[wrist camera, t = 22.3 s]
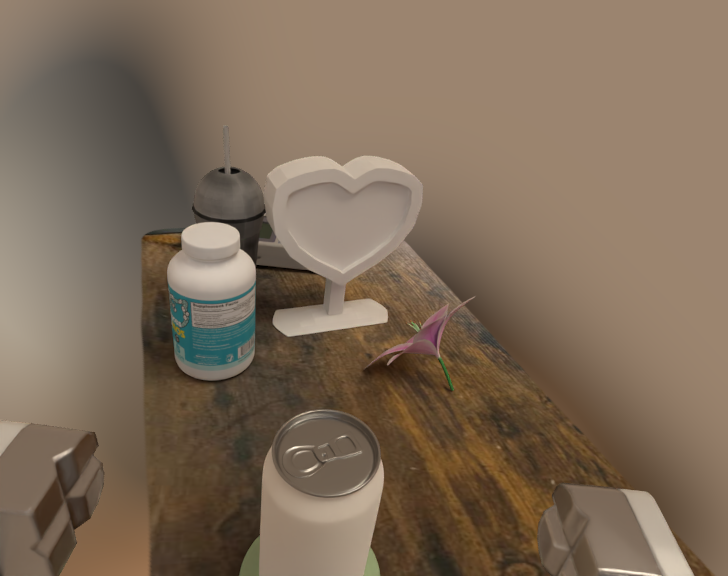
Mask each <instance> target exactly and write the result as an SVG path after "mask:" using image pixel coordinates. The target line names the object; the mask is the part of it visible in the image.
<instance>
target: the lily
mask: <svg viewBox="0 0 728 576" xmlns="http://www.w3.org/2000/svg"><path fill="white" fill-rule="evenodd" d="M474 297H476V296H474ZM474 297H473V298H474ZM473 298H470V299H469V300H467V301H465V302H464V303H462V304H461V305H459V306H457V307H456V308H455V309H453V310H452V311H451V312H450V313H449V314H448V315H447V311H448V306H449V304H450V303H451V302H450V303H449V304H447V305H446V306H444V307H443V308H441V309H440V310H438V311H437V312H436V313H434V314H433V315H432V316H431V317H429V318H428V319H427V321H426V322H425V323H424V324H423V326H421V328H420V329H421V330H420V329H419V328H418V326H417V325H415V324H416V323H415V324H414V323H413V322H412V321H410V322H411V323H412V324H413V325H414V326H415V327H416V328H417V329H418V330H419V331H418V330H417V329H416V328H415V327H414V326H413V325H412V327H413V328H414V329H415V330H416V331H417V332H418V333H417V334H416V335H414V336H413V337H412V338H410V339H409V340H408V341H407V342H406V343H405V344H400V345H397V346H395V347H392V348H390V349H389V350H387V351H385V352H384V353H383V354H381V355H380V356H379V357H377V358H376V359H375V360H374V361H373V362H371V363H370V364H369V365H368V366H370V365H371V364H372V363H374V362H375V361H377V360H378V359H379V358H381V357H383V356H385V355H387V354H389V353H392V352H396V351H402V350H404V351H403V352H402V353H400V354H397V355H394V356H393V357H392V358H391V359H390V360H389V362H388V363H387V366H388V365H389V364H390V363H391V362H392V361H394V360H395V359H396V358H397V357H398V356H400V355H401V354H403V353H415V354H430V355H435V356H436V357H437V358H438V360H439V362H440V363H441V366H442V368H443V370H444V372H445V375H446V378H447V380H448V383H449V386H450V389H451V391H453V390H454V388H453V386H452V383H451V380H450V377H449V374H448V372H447V369H446V367H445V365H444V363H443V361H442V359H441V357H440V354H439V345H440V340H441V336H442V333H443V330H444V327H445V325H446V323H447V321H448V320H449V319H450V317H451V316H452V315H453V314H454V313H455V312H456V311H457V310H458V309H460V308H461V307H462V306H463V305H465V304H466V303H467V302H469V301H470V300H472V299H473ZM414 322H415V321H414ZM406 324H408V323H406ZM408 325H410V324H408ZM420 325H421V321H420ZM410 326H411V325H410ZM368 366H367V367H368ZM367 367H366V368H367ZM366 368H365V369H366Z"/></svg>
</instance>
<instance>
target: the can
mask: <svg viewBox="0 0 728 576" xmlns="http://www.w3.org/2000/svg"><path fill="white" fill-rule="evenodd" d="M383 482H384V469H383V464H382V461H381V450H380V445H379V442H378V440H377V438H376V436H375V434H374V433H373V431H372V430H371V429H370V428H369V427H368V426H367V425H366V424H365V423H364V422H362V421H361V420H360V419H358V418H356V417H354V416H352V415H350V414H348V413H345V412H341V411H337V410H330V409H318V410H311V411H307V412H303V413H301V414H298V415H296V416H294V417H293V418H291V419H289V420H288V421H287V422H286V423H285V424H283V425H282V427H281V428H280V429H279V430H278V432H277V434H276V435H275V438H274V440H273V444H272V447H271V448H270V450H269V452H268V454H267V456H266V459H265V462H264V467H263V477H262V497H261V524H260V554H259V576H363V575H364V571H365V566H366V562H367V558H368V553H369V549H370V544H371V540H372V536H373V531H374V527H375V522H376V518H377V513H378V508H379V504H380V499H381V494H382V489H383Z"/></svg>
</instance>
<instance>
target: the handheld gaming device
mask: <svg viewBox="0 0 728 576" xmlns="http://www.w3.org/2000/svg"><path fill="white" fill-rule="evenodd" d="M256 265H264V266H274V267H283V268H293V269H302V270H309V269H307V268H306V267H304V266H303V265H301V264H300V263H299V262H297V261H296V260H294V259H293V258H291V257H290V256H289V254H288V253H287V251H286V250H285V248H284V247H283V245H282V244H281V242H280V241H279V239H278V238H277V237H276V235H275V233H274V231H273V230H272V228H271V226H270V224H269V222H268V221H267V216H266V215H265V214H264V219H263V224H262V228H261V230H260V235H259V243H258V252H257V261H256Z"/></svg>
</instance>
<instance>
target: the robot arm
mask: <svg viewBox="0 0 728 576" xmlns="http://www.w3.org/2000/svg"><path fill="white" fill-rule="evenodd" d="M98 446H99V445H98V442H97V438H96V434H95V432H90V431H83V430H76V429H68V428H61V427H54V426H47V425H39V424H32V423H23V422H15V421H7V420H0V576H59V575H60V573H61V572H62V570H63V567H64V566H65V564H66V562H67V561H68V559H69V557H70V555H71V553H72V551H73V549H74V548H75V546H76V544H77V542H76V537H75V531H74V530H75V529H76V528H77V527H79V526H80V525H82V524H83V523H84V522H86V521H87V520H89V519H90V518H91V516H92V514H93V512H94V510H95V508H96V506H97V504H98V502H99V499H100V495H101V492H102V489H103V485H104V470H103V464H102V462H101V461H99V460H98V459H97V458H96V457H95V456H94V455H93V454H94V452H95V451H96V449H97V447H98ZM552 498H553V501H554V504H555V505H554V506H552V507H550V508H548V509H547V510H545V511H544V512H543V514H542V517H541V519H540V521H539V526H538V537H537V539H538V548H539V554H540V558H541V562H542V566H543V567H544V568H545V569H546V570H547V571H548V573H549V574H550V575H551V576H694V574H693V573H692V571H691V569H690V567H689V565H688V563H687V561H686V559H685V557H684V555H683V553H682V551H681V550H680V548H679V546H678V544H677V542H676V540H675V538H674V536H673V534H672V532H671V530H670V528H669V526H668V525H667V523H666V521H665V519H664V517H663V515H662V513H661V511H660V509H659V507H658V505H657V503H656V502H655V500H654V498H653V497H652V496H651V495H650V494H649V493H648V492H643V491H635V490H626V489H616V488H613V487H603V486H592V485H582V484H571V483H561V484H559V485H558V486H556V488H555V490H554V492H553V494H552Z"/></svg>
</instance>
